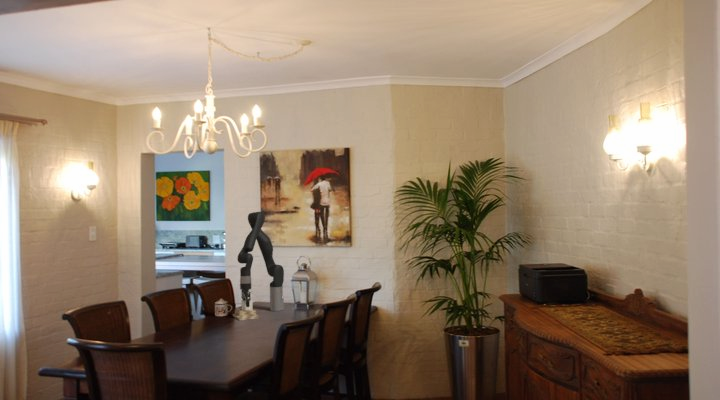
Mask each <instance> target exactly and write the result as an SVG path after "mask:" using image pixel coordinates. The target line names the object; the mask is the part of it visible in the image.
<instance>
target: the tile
mask: <svg viewBox="0 0 720 400" xmlns="http://www.w3.org/2000/svg"><path fill="white" fill-rule="evenodd" d="M253 303H254V301H253V299H251V300H250V301H249V307H246V299H245V300H241V309H242V311H245V310H254V309H253Z"/></svg>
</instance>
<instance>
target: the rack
mask: <svg viewBox="0 0 720 400" xmlns="http://www.w3.org/2000/svg"><path fill="white" fill-rule="evenodd" d="M232 317H234V318H235V320H237V321H245V320H246V321H247V320H256V319H257V320H258V319H260V315H258V314H257V310H255V309H253V310H245V311H242V308H236V309H235V313H232Z"/></svg>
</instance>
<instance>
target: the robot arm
mask: <svg viewBox="0 0 720 400" xmlns="http://www.w3.org/2000/svg"><path fill="white" fill-rule="evenodd" d="M247 220H248V225H249V226H250V228H251V231H249V233H248V235H247V236H246V238H245V241H244V243H243V246H242V248H241V250H240V251H239V252H238V255H237V262H238V263H239V264H245V266H243V267H240V268H239V269H240V270H239V271H240V272H239V273H240V276H239V289H240V290H241V299H242V300H246V307H249V301H250V300H252V299H251V291H250V290H251V289H252V275H251V274H252V273H251V272H252V271H251V270H252V265H253V262H254V256H253V254H252V252H253V251H254V248H255V245H256V242H257V245H258V247H259V250H260V252H261V255H262V257H263V260H264V264H265V268H266V272H267V274H268V276H270V277H272V278H273V279H272V281H270V283H269V308H270V309H269V311H272V312H280V311H284V308H285V307H284V306H285V305H284V304H285V303H284V300H285V298H284V296H283V295H284V294H283V285H284V280H285V278H284V277H285V271H284V267H283V265H280V264H276V262H275V260H274V257H273V254H274V253H273V252H274V246H273V243H272V241H271V238H270V237H269V236H268V235H267V234H266V233H265V232H264V231H263V230H262V227H263V225H264V222H265V220H266V216H265V213H264V212H262V211H255V212H250V213H248V214H247ZM250 252H251V253H250ZM242 300H241V301H242Z"/></svg>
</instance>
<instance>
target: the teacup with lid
mask: <svg viewBox="0 0 720 400" xmlns="http://www.w3.org/2000/svg"><path fill="white" fill-rule="evenodd" d="M228 303H229V302H228V301H227V300H224V299H223V298H219V300H217V301H216V302H214V315H215V317H226V316H229V315H228V314H229V313H230V312H231V311H232V310H233V306H232V305H231V304H228ZM229 307H230V310H228V309H229Z"/></svg>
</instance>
